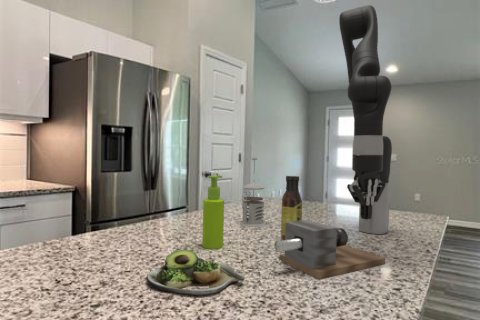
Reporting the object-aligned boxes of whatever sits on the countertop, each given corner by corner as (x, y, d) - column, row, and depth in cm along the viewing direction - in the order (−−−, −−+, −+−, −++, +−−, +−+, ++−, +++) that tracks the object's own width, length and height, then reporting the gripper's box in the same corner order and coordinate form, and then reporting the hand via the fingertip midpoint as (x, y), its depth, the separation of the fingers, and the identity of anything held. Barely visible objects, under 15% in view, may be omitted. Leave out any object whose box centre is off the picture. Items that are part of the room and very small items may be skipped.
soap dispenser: (227, 243, 100) (229, 175, 99) (218, 250, 93) (219, 176, 93) (209, 241, 102) (210, 174, 101) (198, 247, 95) (200, 175, 95)
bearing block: (341, 249, 97) (342, 214, 97) (385, 263, 85) (386, 223, 85) (279, 260, 86) (280, 220, 86) (319, 279, 74) (320, 232, 73)
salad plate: (257, 274, 77) (257, 253, 77) (224, 307, 60) (225, 281, 60) (182, 261, 84) (182, 243, 84) (134, 288, 68) (135, 265, 67)
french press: (270, 223, 129) (272, 157, 128) (255, 229, 119) (257, 157, 118) (248, 220, 134) (249, 156, 133) (231, 225, 124) (233, 156, 124)
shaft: (333, 244, 89) (334, 225, 89) (348, 249, 85) (349, 229, 85) (270, 254, 79) (271, 233, 79) (284, 260, 74) (284, 238, 74)
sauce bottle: (300, 243, 102) (302, 176, 101) (279, 242, 103) (281, 176, 102) (301, 238, 108) (303, 175, 108) (281, 236, 109) (283, 174, 109)
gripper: (371, 152, 97) (370, 213, 97) (338, 153, 90) (337, 218, 90) (396, 153, 90) (394, 218, 91) (362, 153, 83) (361, 224, 84)
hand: (366, 218), depth 91 cm, fingers closed
